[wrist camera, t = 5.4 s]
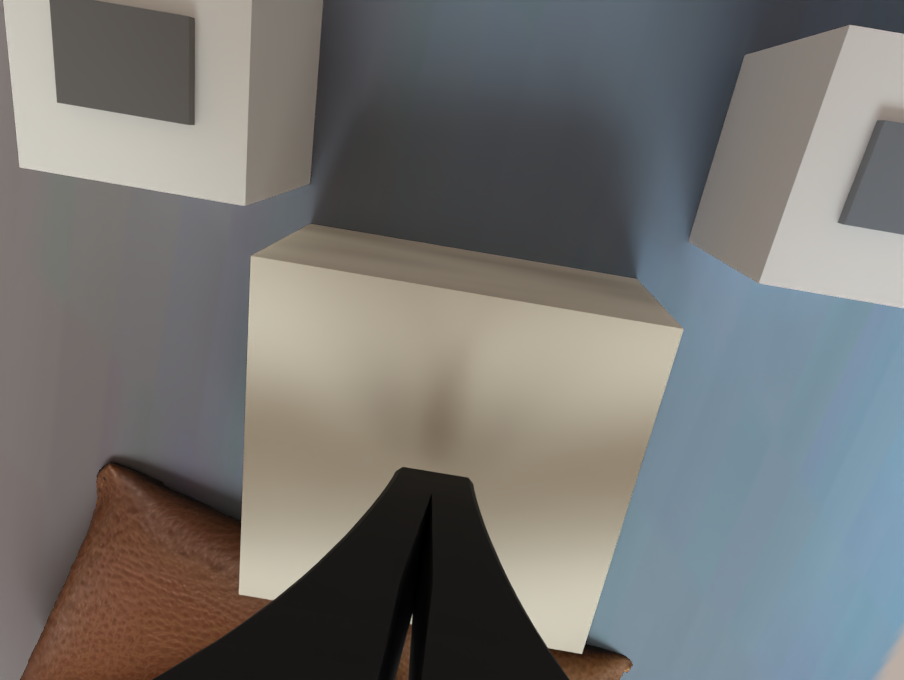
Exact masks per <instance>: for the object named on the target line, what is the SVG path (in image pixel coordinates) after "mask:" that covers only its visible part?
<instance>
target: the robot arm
mask: <svg viewBox="0 0 904 680" xmlns="http://www.w3.org/2000/svg"><path fill="white" fill-rule="evenodd" d="M412 614H413V615H412ZM411 618H412V630H411V644H410V659H409V675H408V680H570V679H569V678H568V677H567V675H566V674H565V672H564V671H563V669H562V668H561V666H560V665H559V663H558V662H557V661H556V659H555V658H554V656H553V655H552V653H551V652H550V650H549V649H548V647H547V646H546V644H545V643H544V641H543V639H542V638H541V636H540V635H539V633H538V631H537V630H536V628H535V627H534V625H533V623H532V622H531V620H530V618H529V616H528V615H527V613H526V611H525V609H524V608H523V606H522V604H521V602H520V600H519V599H518V597H517V595H516V593H515V591H514V589H513V587H512V585H511V583H510V581H509V579H508V577H507V575H506V573H505V571H504V569H503V567H502V565H501V562H500V560H499V558H498V555H497V553H496V551H495V548H494V546H493V544H492V541H491V539H490V537H489V534H488V532H487V529H486V526H485V524H484V521H483V518H482V515H481V512H480V509H479V506H478V502H477V499H476V495H475V491H474V485H473V483H472V482H471V480H470V479H469V478H468V477H462V476H456V475H450V474H444V473H438V472H432V471H425V470H419V469H413V468H407V467H402V468H400V469H398V470H397V471H396V472H395V473H394V475H393V477H392V479H391V480H390V482H389V483H388V485H387V486H386V487H385V489H384V490H383V492H382V493H381V494H380V496H379V497H378V498H377V499H376V501H375V502H374V503H373V504H372V506H371V507H370V508H369V509H368V510H367V511H366V513H365V514H364V515H363V516H362V517H361V518H360V519H359V521H358V522H357V523H356V524H355V525H354V526H353V527H352V529H351V530H350V531H349V532H348V533H347V534H346V535H345V536H344V537H343V538H342V539H341V540H340V541H339V542H338V543H337V544H336V545H335V546H334V547H333V548H332V549H331V550H330V551H329V552H328V553H327V554H326V555H325V556H324V557H323V558H322V559H321V560H320V561H319V562H318V563H317V564H316V565H314V566H313V567H312V568H311V569H310V570H309V571H308V572H307V573H306V574H304V575H303V576H302V577H301V578H300V579H299V580H297V581H296V582H295V583H294V584H293V585H291V586H290V587H289V588H288V589H287V590H285V591H284V592H283V593H282V594H280V595H279V596H278V597H277V598H275V599H274V600H273V601H272V602H270V603H269V604H268V605H266V606H265V607H263V608H262V609H261V610H259V611H258V612H257V613H255V614H254V615H253V616H251V617H250V618H248V619H247V620H246V621H244V622H243V623H242V624H240V625H239V626H237V627H236V628H234V629H233V630H232V631H230V632H229V633H227V634H226V635H224V636H223V637H221V638H220V639H218V640H217V641H215V642H213V643H212V644H210V645H209V646H207V647H205V648H204V649H202V650H200V651H199V652H197V653H195V654H194V655H192V656H190V657H189V658H187V659H185V660H184V661H182V662H180V663H179V664H177V665H176V666H174V667H172V668H171V669H169V670H167V671H166V672H164V673H162V674H161V675H159V676H157V677H155V678H154V679H152V680H395V678H396V674H397V671H398V667H399V663H400V659H401V656H402V652H403V648H404V644H405V641H406V637H407V633H408V629H409V626H410V622H411Z"/></svg>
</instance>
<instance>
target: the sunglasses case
mask: <svg viewBox="0 0 904 680" xmlns="http://www.w3.org/2000/svg"><path fill="white" fill-rule="evenodd" d="M97 495H98V498H97V501H96V508H95V510H94V513H93V517H92V520H91V524H90V527H89V530H88V532H87V535H86V537H85V539H84V542H83V543H82V545H81V547H80V550H79V552H78V556H77V557H76V560H75V562H74V564H73V565H72V567H71V571H70V573H69V575H68V578H67V580H66V582H65V584H64V586H63V589H62V591H61V592H60V594H59V596H58V600H57V601H56V602H55V605H54V608H53V610H52V611H51V614H50V616H49V618H48V620H47V623H46V625H45V627H44V630H43V632H42V633H41V636H40V638H39V640H38V642H37V645H36V646H35V648H34V650H33V652H32V654H31V657H30V658H29V661H28V664H27V667H26V669H25V671H24V673H23V675H22V677H21V679H20V680H152V679H154V678H155V677H157V676H159V675H161V674H162V673H164V672H166V671H167V670H169V669H171V668H172V667H174V666H176V665H177V664H179V663H180V662H182V661H184V660H185V659H187V658H189V657H190V656H192V655H194V654H195V653H197V652H199V651H200V650H202V649H204V648H205V647H207V646H209V645H210V644H212V643H213V642H215V641H217V640H218V639H220V638H221V637H223V636H224V635H226V634H227V633H229V632H230V631H232V630H233V629H234V628H236V627H237V626H239V625H240V624H242V623H243V622H244V621H246V620H247V619H248V618H250V617H251V616H253V615H254V614H255V613H257V612H258V611H259V610H261V609H262V608H263V607H265V606H266V605H268V604H269V603H270V602H272V601H273V600H268V599H262V598H257V597H251V596H245V595H239V573H240V545H241V522H240V521H238V520H236V519H234V518H232V517H229V516H227V515H225V514H222V513H221V512H219V511H217V510H216V509H214V508H212V507H210V506H208V505H205V504H203V503H200V502H198V501H196V500H194V499H192V498H190V497H188V496H186V495H183V494H180V493H178V492H176V491H174V490H172V489H170V488H169V487H167V486H165V485H164V484H163V483H162V482H161V481H159V480H157V479H154V478H152V477H149V476H146V475H144V474H141V473H139V472H136V471H134V470H131V469H128V468H125V467H122V466H120V465H117V464H114V463H112V462H111V463H109V464H107V465H106V466H104V467H103V468H102V469H101V470H99V473H98V474H97ZM411 630H412V624H410V626H409V629H408V633H407V637H406V641H405V644H404V648H403V652H402V656H401V659H400V663H399V667H398V671H397V674H396V678H395V680H408V675H409V659H410V644H411ZM548 649H549V650H550V652H551V653H552V655H553V656H554V658H555V659H556V661H557V662H558V663H559V665H560V666H561V668H562V669H563V671H564V672H565V674H566V675H567V677H568V678H569V679H570V680H620V678H621V676H623V675H622V674H623V672H626V673H627V672H628V671H629V670H630V669H631V666H632V662H631V661H630V659H628V658H627V657H625V656H623V655H620V654H617V653H615V652H611V651H609V650H605V649H603V648H599V647H595V646H591V645H587V644H585V646H584V649H583V652H582V654H579V653H573V652H567V651H562V650H556V649H550V648H548Z"/></svg>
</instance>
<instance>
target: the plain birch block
mask: <svg viewBox="0 0 904 680" xmlns="http://www.w3.org/2000/svg"><path fill="white" fill-rule="evenodd" d="M683 330H684V329H683V328H682V327H681V326H680V324H679V323H678V322H677V321H676V320H675V319H674V318H673V317H672V316H671V315H670V314H669V313H668V312H667V311H666V309H665V308H664V307H663V306H662V305H661V304H660V303H659V302H658V301H657V300H656V299H655V298H654V297H653V295H652V294H651V293H650V292H649V291H648V290H647V289H646V288H645V287H644V286H643V285H642V284H641V283H640V282H639V280H638V279H635V278H629V277H623V276H617V275H611V274H606V273H600V272H594V271H588V270H582V269H576V268H570V267H564V266H558V265H552V264H546V263H540V262H534V261H528V260H523V259H517V258H511V257H505V256H499V255H493V254H487V253H481V252H475V251H469V250H463V249H457V248H451V247H446V246H440V245H434V244H428V243H422V242H416V241H410V240H404V239H398V238H392V237H386V236H380V235H374V234H368V233H363V232H357V231H351V230H345V229H339V228H333V227H327V226H321V225H315V224H309V225H307V226H305V227H303V228H301V229H299V230H298V231H296V232H294V233H292V234H290V235H288V236H287V237H285V238H283V239H281V240H279V241H277V242H275V243H274V244H272V245H270V246H268V247H266V248H264V249H263V250H261V251H259V252H257V253H255V254H253V255H251V267H250V295H249V323H248V351H247V379H246V406H245V434H244V462H243V490H242V518H241V545H240V573H239V595H245V596H251V597H257V598H262V599H268V600H274V599H275V598H277V597H278V596H279V595H280V594H282V593H283V592H284V591H285V590H287V589H288V588H289V587H290V586H291V585H293V584H294V583H295V582H296V581H297V580H299V579H300V578H301V577H302V576H303V575H304V574H306V573H307V572H308V571H309V570H310V569H311V568H312V567H313V566H314V565H316V564H317V563H318V562H319V561H320V560H321V559H322V558H323V557H324V556H325V555H326V554H327V553H328V552H329V551H330V550H331V549H332V548H333V547H334V546H335V545H336V544H337V543H338V542H339V541H340V540H341V539H342V538H343V537H344V536H345V535H346V534H347V533H348V532H349V531H350V530H351V529H352V527H353V526H354V525H355V524H356V523H357V522H358V521H359V519H360V518H361V517H362V516H363V515H364V514H365V513H366V511H367V510H368V509H369V508H370V507H371V506H372V504H373V503H374V502H375V501H376V499H377V498H378V497H379V496H380V494H381V493H382V492H383V490H384V489H385V487H386V486H387V485H388V483H389V482H390V480H391V479H392V477H393V475H394V473H395V472H396V471H397V470H398V469H400V468H402V467H407V468H413V469H419V470H425V471H432V472H438V473H444V474H450V475H456V476H462V477H468V478H469V479H470V480H471V482H472V483H473V485H474V491H475V495H476V499H477V502H478V506H479V509H480V512H481V515H482V518H483V521H484V524H485V526H486V529H487V532H488V534H489V537H490V539H491V541H492V544H493V546H494V548H495V551H496V553H497V555H498V558H499V560H500V562H501V565H502V567H503V569H504V571H505V573H506V575H507V577H508V579H509V581H510V583H511V585H512V587H513V589H514V591H515V593H516V595H517V597H518V599H519V600H520V602H521V604H522V606H523V608H524V609H525V611H526V613H527V615H528V616H529V618H530V620H531V622H532V623H533V625H534V627H535V628H536V630H537V631H538V633H539V635H540V636H541V638H542V639H543V641H544V643H545V644H546V646H547V647H548V648H550V649H556V650H562V651H567V652H573V653H579V654H582V652H583V649H584V646H585V643H586V640H587V636H588V633H589V630H590V627H591V624H592V620H593V617H594V614H595V611H596V608H597V604H598V601H599V598H600V595H601V592H602V588H603V585H604V582H605V579H606V576H607V572H608V569H609V566H610V563H611V560H612V557H613V553H614V550H615V547H616V544H617V541H618V537H619V534H620V531H621V528H622V525H623V521H624V518H625V515H626V512H627V509H628V505H629V502H630V499H631V496H632V493H633V489H634V486H635V483H636V480H637V477H638V474H639V470H640V467H641V464H642V461H643V458H644V454H645V451H646V448H647V445H648V442H649V438H650V435H651V432H652V429H653V426H654V422H655V419H656V416H657V413H658V410H659V406H660V403H661V400H662V397H663V394H664V391H665V387H666V384H667V381H668V378H669V375H670V371H671V368H672V365H673V362H674V359H675V355H676V352H677V349H678V346H679V343H680V339H681V336H682V333H683ZM412 615H413V614H412ZM410 624H412V618H411V622H410Z"/></svg>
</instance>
